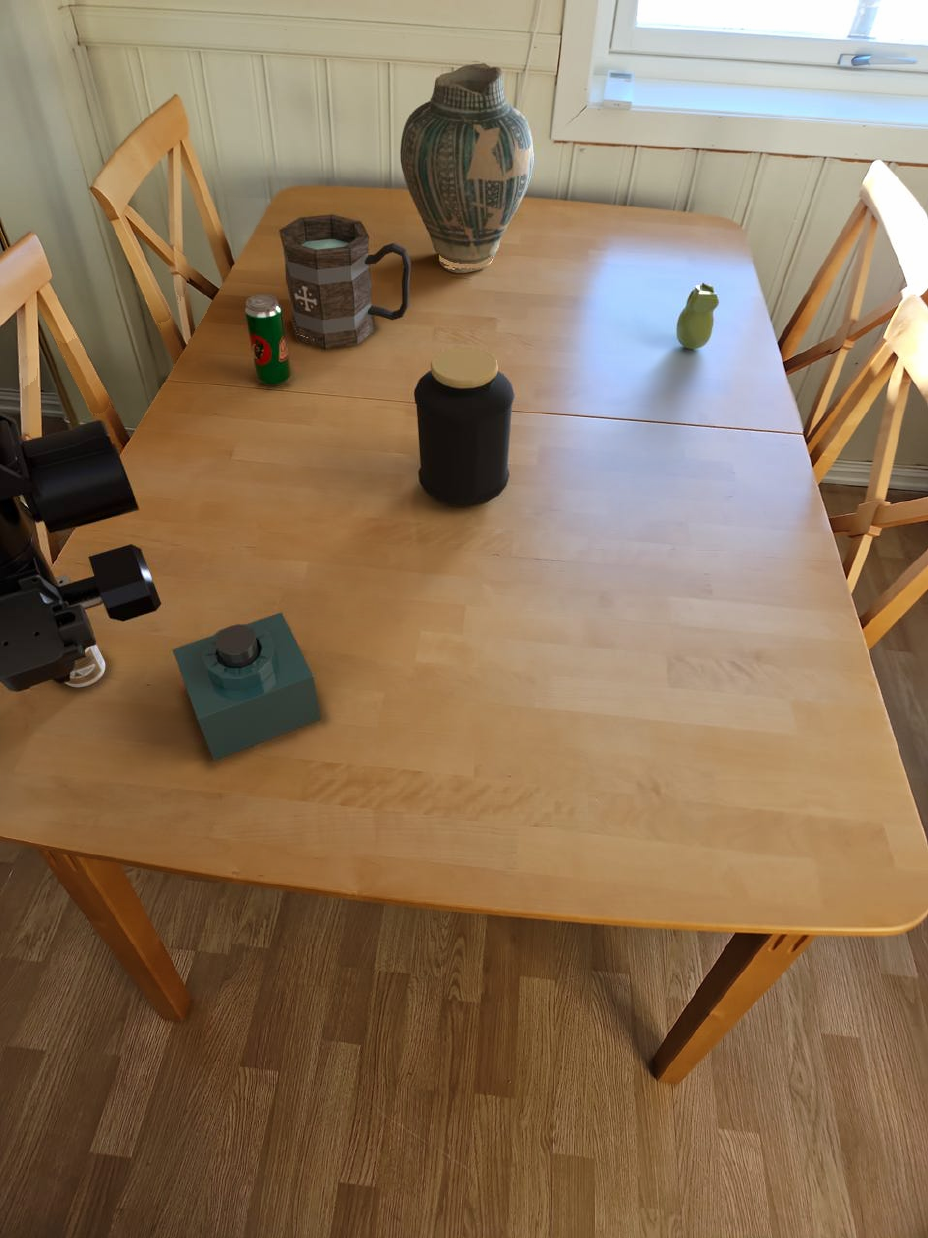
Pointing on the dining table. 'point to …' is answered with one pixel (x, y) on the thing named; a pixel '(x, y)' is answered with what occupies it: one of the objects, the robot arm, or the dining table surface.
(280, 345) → the soda can
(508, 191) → the vase
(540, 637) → the dining table surface
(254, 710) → the teal push button box
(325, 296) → the mug
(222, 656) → the dark brown button
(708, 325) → the pear
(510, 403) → the container
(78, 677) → the pill bottle
